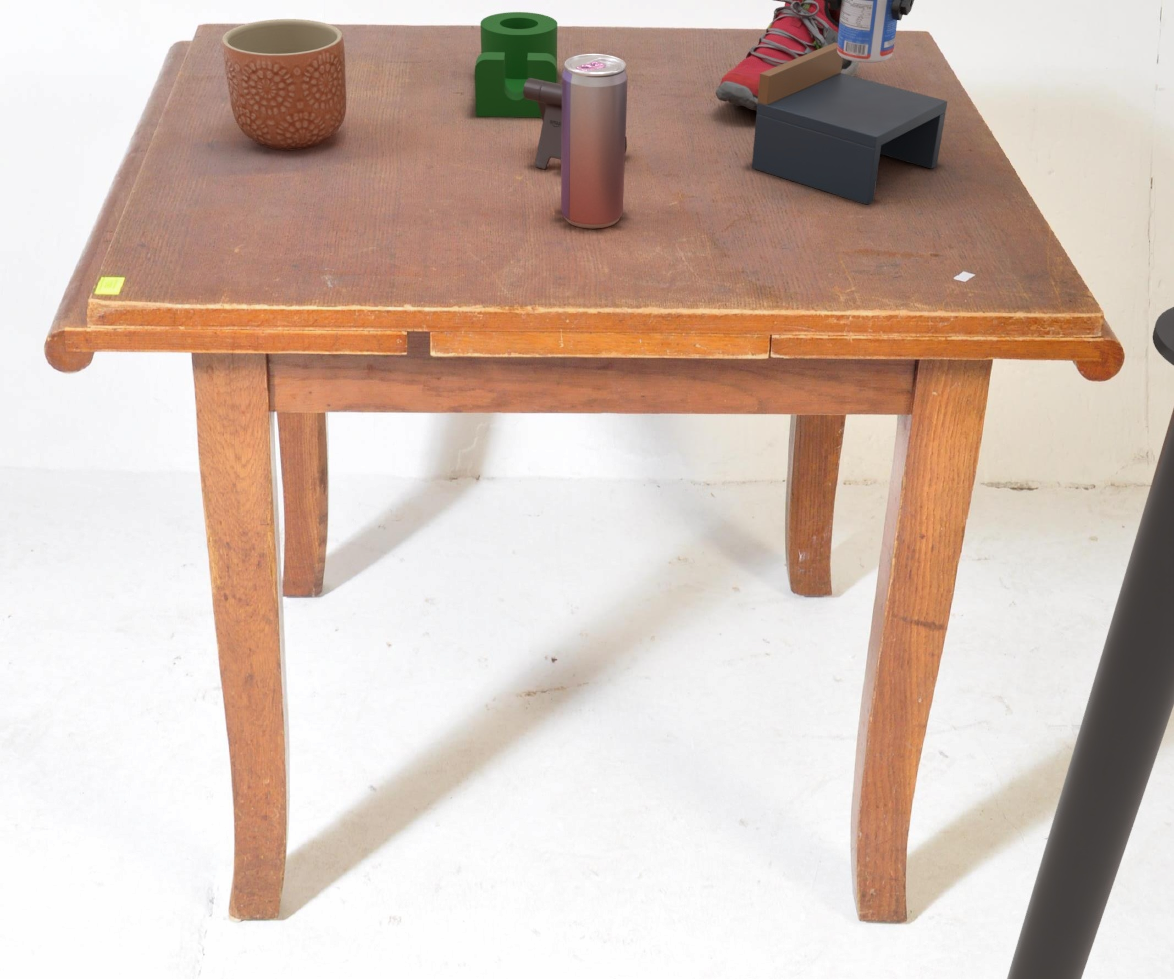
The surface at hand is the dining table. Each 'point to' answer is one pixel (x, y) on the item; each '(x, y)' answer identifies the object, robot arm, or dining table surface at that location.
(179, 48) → the dining table surface
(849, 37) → the pill bottle
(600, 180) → the beverage can
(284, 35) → the planter
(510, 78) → the slotted cylinder bracket
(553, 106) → the tablet stand
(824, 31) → the athletic shoe
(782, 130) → the shelf
